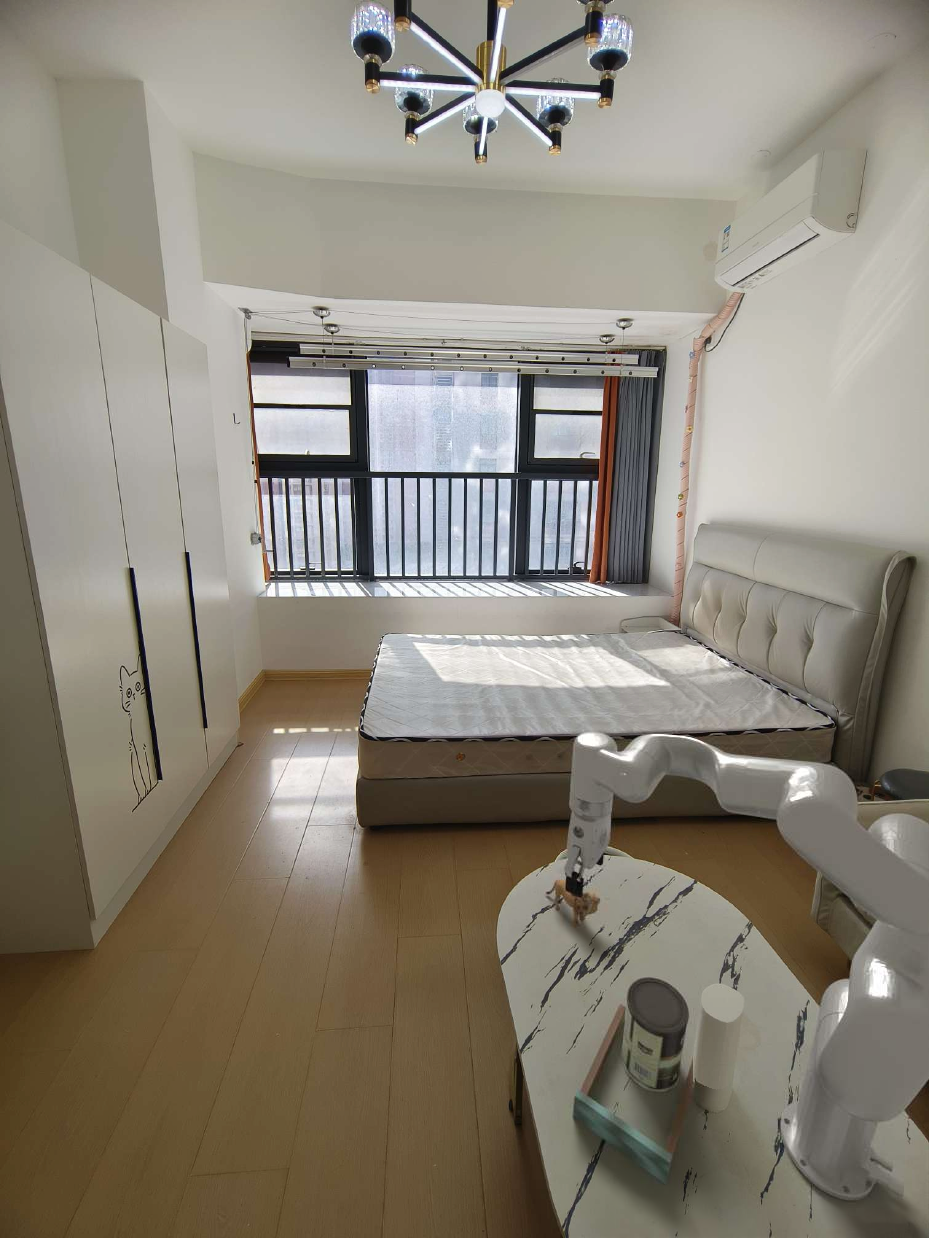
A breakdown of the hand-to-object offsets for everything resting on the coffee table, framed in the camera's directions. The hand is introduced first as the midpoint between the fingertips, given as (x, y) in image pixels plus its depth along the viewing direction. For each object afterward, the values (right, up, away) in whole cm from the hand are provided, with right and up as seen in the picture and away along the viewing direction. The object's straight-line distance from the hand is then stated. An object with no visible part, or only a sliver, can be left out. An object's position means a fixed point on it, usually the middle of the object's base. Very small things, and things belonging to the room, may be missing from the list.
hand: (584, 877), depth 103 cm
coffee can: (+11, -32, -3) cm, 34 cm away
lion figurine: (+3, -22, +29) cm, 37 cm away
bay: (+8, -33, -7) cm, 35 cm away
